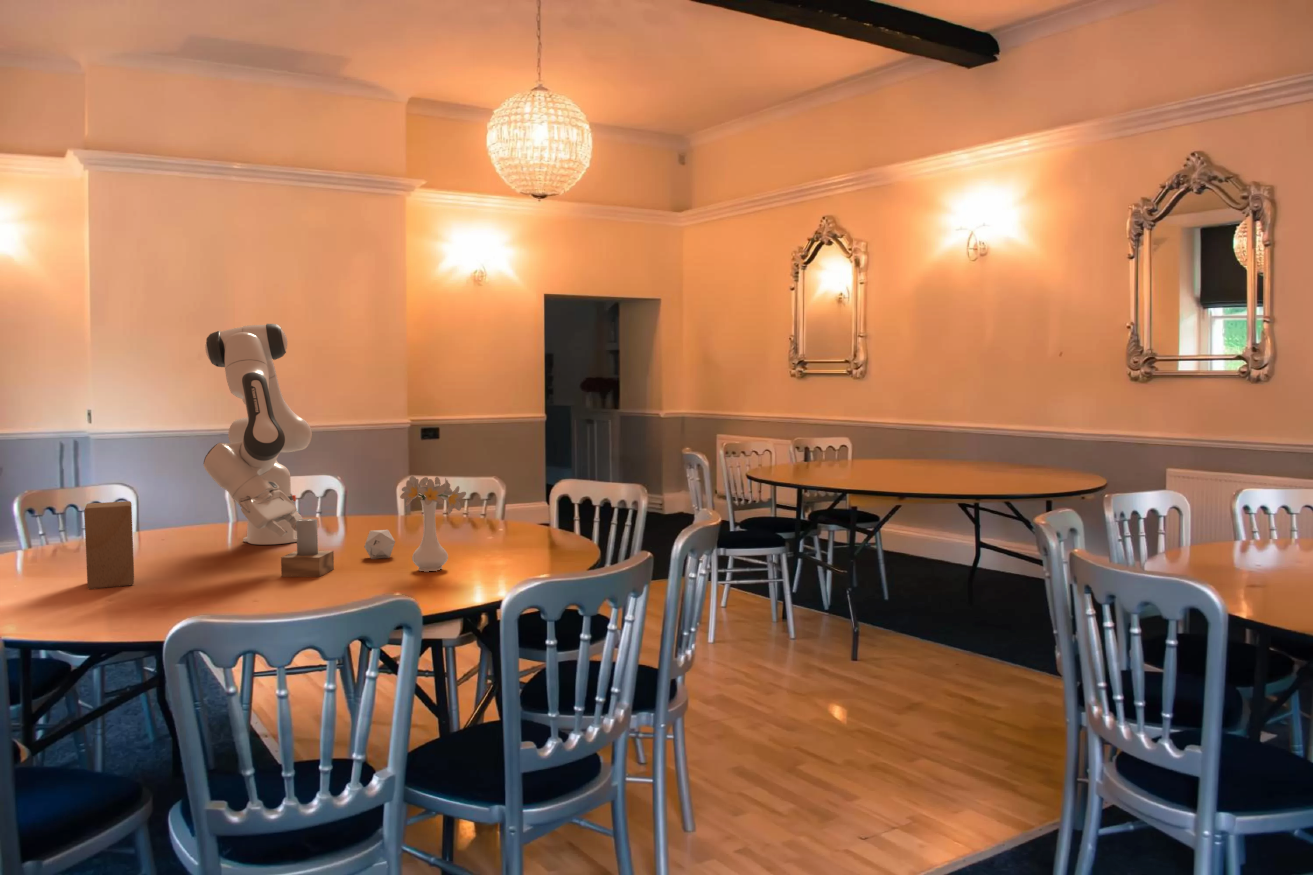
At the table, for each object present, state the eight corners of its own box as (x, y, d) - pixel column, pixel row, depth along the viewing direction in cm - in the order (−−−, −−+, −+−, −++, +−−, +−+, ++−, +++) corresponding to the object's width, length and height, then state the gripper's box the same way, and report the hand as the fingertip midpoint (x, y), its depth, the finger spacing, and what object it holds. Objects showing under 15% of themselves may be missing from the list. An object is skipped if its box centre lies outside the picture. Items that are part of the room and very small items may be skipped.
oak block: (297, 568, 264) (296, 550, 264) (333, 569, 264) (333, 550, 264) (281, 576, 254) (281, 557, 254) (319, 576, 254) (319, 557, 254)
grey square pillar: (301, 552, 262) (301, 518, 261) (321, 552, 261) (320, 518, 261) (293, 555, 256) (293, 521, 256) (313, 555, 256) (312, 521, 256)
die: (358, 559, 281) (359, 536, 275) (374, 541, 287) (375, 517, 281) (383, 570, 279) (385, 547, 274) (399, 551, 286) (401, 528, 280)
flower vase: (452, 576, 254) (450, 480, 252) (389, 572, 259) (387, 478, 258) (475, 567, 266) (474, 475, 265) (415, 563, 272) (414, 473, 270)
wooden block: (87, 589, 239) (84, 508, 238) (89, 581, 248) (86, 503, 247) (133, 585, 244) (130, 505, 243) (134, 578, 253) (131, 500, 252)
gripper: (244, 491, 248) (283, 529, 248) (278, 481, 268) (314, 517, 269) (227, 508, 249) (266, 547, 249) (262, 498, 269) (298, 533, 269)
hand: (291, 531), depth 259 cm, fingers open, 8 cm apart
